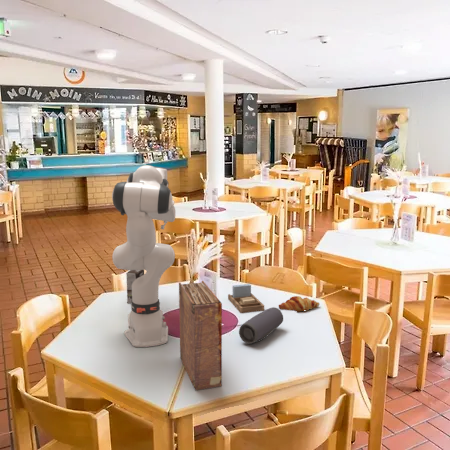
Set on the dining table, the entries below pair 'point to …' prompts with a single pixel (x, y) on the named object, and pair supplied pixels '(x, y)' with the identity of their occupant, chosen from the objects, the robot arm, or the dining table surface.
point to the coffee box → (131, 277)
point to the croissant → (298, 304)
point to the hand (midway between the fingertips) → (152, 227)
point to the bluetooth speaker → (260, 325)
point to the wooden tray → (246, 307)
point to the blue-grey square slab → (241, 290)
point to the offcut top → (247, 300)
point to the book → (201, 335)
